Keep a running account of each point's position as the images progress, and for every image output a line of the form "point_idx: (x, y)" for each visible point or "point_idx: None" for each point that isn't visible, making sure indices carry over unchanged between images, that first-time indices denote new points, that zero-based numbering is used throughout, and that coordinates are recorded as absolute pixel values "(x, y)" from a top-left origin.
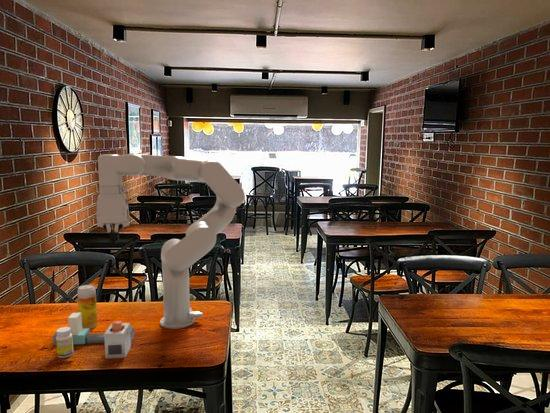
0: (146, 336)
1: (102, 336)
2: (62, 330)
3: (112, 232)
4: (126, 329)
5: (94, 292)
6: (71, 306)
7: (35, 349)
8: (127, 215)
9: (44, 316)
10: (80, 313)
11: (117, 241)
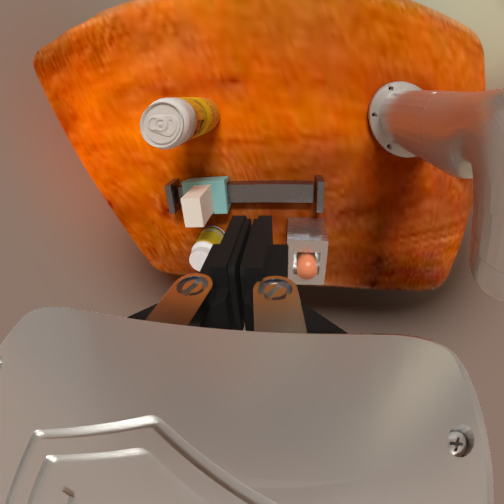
0: (346, 179)
1: (261, 199)
2: (201, 266)
3: (235, 321)
4: (325, 268)
5: (192, 124)
6: (122, 21)
7: (155, 214)
8: (464, 415)
9: (96, 78)
10: (200, 202)
11: (271, 224)
